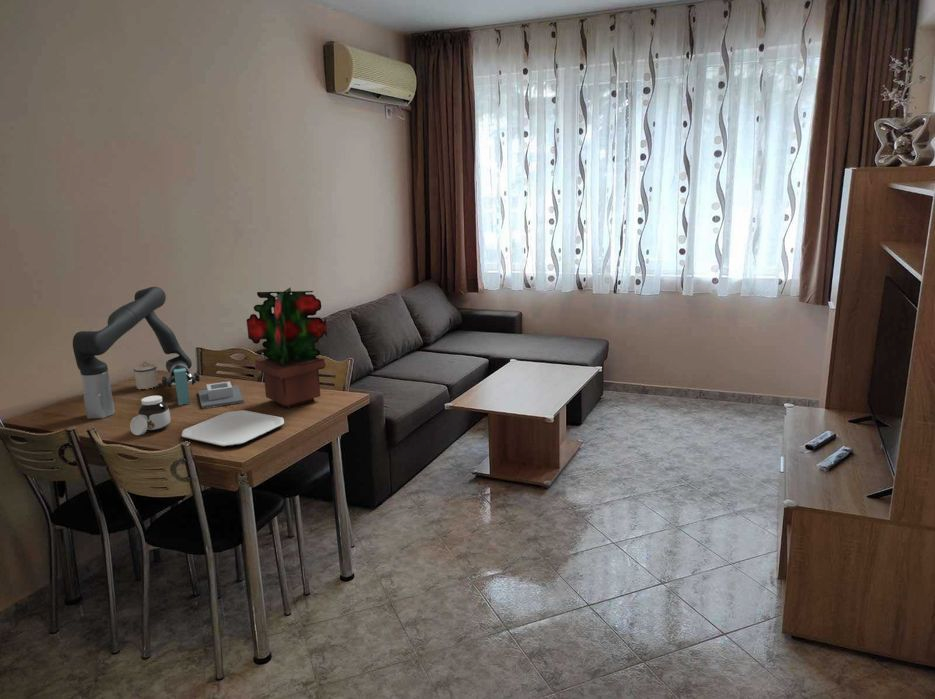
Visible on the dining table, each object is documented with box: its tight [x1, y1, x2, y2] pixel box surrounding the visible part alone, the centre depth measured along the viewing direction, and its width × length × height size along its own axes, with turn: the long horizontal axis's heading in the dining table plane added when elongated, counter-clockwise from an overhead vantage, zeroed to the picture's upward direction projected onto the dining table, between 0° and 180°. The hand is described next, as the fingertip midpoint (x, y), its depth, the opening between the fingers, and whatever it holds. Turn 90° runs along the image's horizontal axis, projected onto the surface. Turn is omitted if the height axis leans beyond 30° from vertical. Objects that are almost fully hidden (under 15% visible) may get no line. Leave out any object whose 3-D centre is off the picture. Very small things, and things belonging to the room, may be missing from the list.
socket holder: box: [197, 380, 245, 409], centre depth 277 cm, size 22×16×5 cm
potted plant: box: [246, 287, 328, 408], centre depth 265 cm, size 22×22×45 cm
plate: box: [180, 409, 285, 448], centre depth 240 cm, size 29×29×2 cm
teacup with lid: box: [133, 360, 159, 390], centre depth 294 cm, size 12×9×12 cm
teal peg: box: [174, 368, 191, 406], centre depth 270 cm, size 4×4×14 cm
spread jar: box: [129, 395, 171, 436], centre depth 241 cm, size 12×11×12 cm
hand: (181, 383), depth 270 cm, fingers open, 8 cm apart
